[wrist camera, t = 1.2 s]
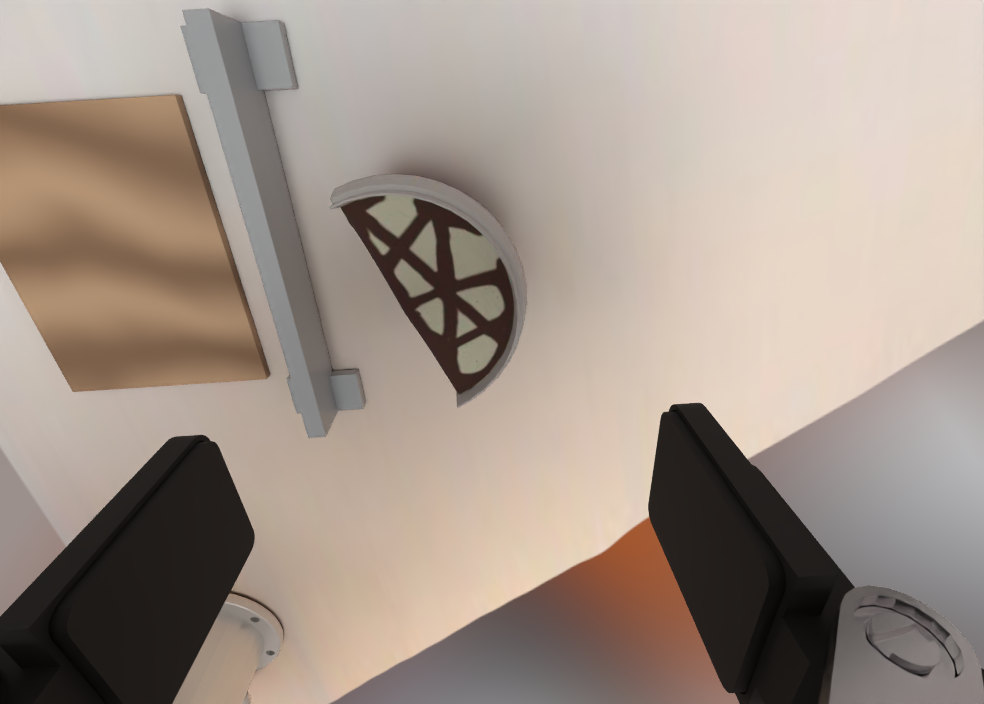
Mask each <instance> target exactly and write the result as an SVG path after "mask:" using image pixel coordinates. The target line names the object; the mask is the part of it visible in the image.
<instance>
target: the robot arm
mask: <svg viewBox="0 0 984 704" xmlns="http://www.w3.org/2000/svg"><path fill="white" fill-rule="evenodd" d="M648 510H649V517H650V521H651V523H652V526H653V528H654V530H655V532H656V535H657V537H658V539H659V542H660V544H661V546H662V548H663V551H664V553H665V556H666V558H667V560H668V562H669V565H670V567H671V569H672V571H673V574H674V576H675V578H676V581H677V583H678V585H679V587H680V590H681V592H682V594H683V597H684V599H685V601H686V604H687V606H688V608H689V611H690V613H691V615H692V617H693V619H694V622H695V624H696V627H697V629H698V631H699V633H700V635H701V638H702V640H703V642H704V645H705V647H706V650H707V652H708V654H709V656H710V659H711V661H712V663H713V665H714V668H715V670H716V672H717V675H718V677H719V679H720V681H721V683H722V685H723V687H724V688H725V690H726V691H727V692H728V693H735V694H736V696H737V698H738V700H739V703H740V704H984V669H982V668H981V667H980V665H979V662H978V659H977V656H976V653H975V651H974V650H973V648H972V647H971V646H970V644H969V643H968V641H967V640H966V639H965V637H964V636H963V635H962V634H961V633H960V632H959V631H958V630H957V629H956V628H955V627H954V626H953V625H952V624H951V623H950V622H949V621H948V620H947V619H946V618H944V617H943V616H942V615H940V614H939V613H937V612H936V611H935V610H933V609H932V608H930V607H929V606H927V605H926V604H924V603H922V602H920V601H918V600H916V599H914V598H912V597H911V596H908V595H907V594H904V593H901V592H898V591H895V590H892V589H889V588H885V587H877V586H862V587H856V588H855V587H854V586H853V585H852V583H851V582H850V581H849V580H848V578H847V577H846V576H845V575H844V573H843V572H842V571H841V570H840V569H839V567H838V566H837V565H836V564H835V562H834V561H833V560H832V559H831V557H830V556H829V555H828V554H827V552H826V551H825V550H824V549H823V547H822V546H821V545H820V544H819V543H818V541H817V540H816V539H815V538H814V536H813V535H812V534H811V533H810V531H809V530H808V529H807V528H806V527H805V525H804V524H803V523H802V522H801V520H800V519H799V518H798V517H797V515H796V514H795V513H794V512H793V510H792V509H791V508H790V507H789V505H788V504H787V503H786V502H785V501H784V499H783V498H782V497H781V496H780V494H779V493H778V492H777V491H776V489H775V488H774V487H773V486H772V485H771V483H770V482H769V481H768V480H767V479H766V477H765V476H764V475H763V473H762V472H761V471H760V470H759V469H758V468H757V467H755V466H753V465H751V464H750V462H749V461H748V460H747V458H746V457H745V456H744V455H743V453H742V452H741V451H740V450H739V448H738V447H737V446H736V445H735V443H734V442H733V441H732V440H731V438H730V437H729V436H728V435H727V433H726V432H725V431H724V430H723V428H722V427H721V426H720V425H719V423H718V422H717V421H716V420H715V418H714V417H713V416H712V415H711V413H710V412H709V411H708V410H707V408H706V407H705V406H704V405H703V404H701V403H689V404H674V405H672V406H671V407H670V409H669V412H664V413H663V414H662V415H661V420H660V427H659V434H658V441H657V448H656V455H655V462H654V469H653V476H652V483H651V490H650V497H649V504H648ZM254 539H255V536H254V530H253V528H252V525H251V523H250V521H249V518H248V516H247V513H246V511H245V509H244V506H243V504H242V502H241V499H240V497H239V494H238V492H237V490H236V487H235V485H234V483H233V480H232V478H231V475H230V473H229V471H228V468H227V466H226V463H225V461H224V459H223V456H222V454H221V452H220V449H219V447H218V445H217V444H216V443H215V442H212V441H210V440H209V438H208V437H206V436H204V435H194V436H178V437H173V438H171V439H169V440H168V441H167V442H166V443H165V444H164V445H163V446H162V447H161V448H160V449H159V450H158V451H157V452H156V453H155V454H154V456H153V457H152V458H151V459H150V460H149V461H148V462H147V463H146V464H145V465H144V466H143V467H142V468H141V469H140V470H139V471H138V472H137V473H136V474H135V476H134V477H133V478H132V479H131V480H130V481H129V482H128V483H127V484H126V485H125V486H124V487H123V488H122V489H121V490H120V491H119V492H118V493H117V494H116V495H115V497H114V498H113V499H112V500H111V501H110V502H109V503H108V504H107V505H106V506H105V507H104V508H103V509H102V510H101V511H100V512H99V513H98V514H97V515H96V517H95V518H94V519H93V520H92V521H91V522H90V523H89V524H88V525H87V526H86V527H85V528H84V529H83V530H82V531H81V532H80V533H79V534H78V535H77V536H76V538H75V539H74V540H73V541H72V542H71V543H70V544H69V545H68V546H67V547H66V548H65V549H64V550H63V551H62V552H61V554H59V555H58V556H57V558H56V559H55V560H54V561H53V562H52V563H51V564H50V565H49V566H48V567H47V568H46V569H45V570H44V571H43V572H42V573H41V574H40V575H39V577H37V579H36V580H35V581H34V582H33V583H32V584H31V585H30V586H29V587H28V588H27V589H26V590H25V591H24V592H23V593H22V594H21V595H20V596H19V597H18V599H17V600H16V601H15V602H14V603H13V604H12V605H11V606H10V607H9V608H8V609H7V610H6V611H5V612H4V613H3V614H2V615H1V616H0V704H250V702H251V696H250V694H249V692H248V688H249V686H250V683H251V681H252V678H253V676H254V673H255V671H257V670H259V669H261V668H264V667H266V666H267V665H269V664H270V663H271V662H273V661H274V659H275V658H276V657H277V656H278V653H279V651H280V648H281V646H282V643H283V638H284V636H283V630H282V627H281V625H280V623H279V621H278V620H277V619H276V618H275V616H274V615H273V614H272V613H271V612H269V611H268V610H267V609H266V608H264V607H263V606H261V605H260V604H258V603H256V602H254V601H252V600H250V599H247V598H245V597H242V596H239V595H235V594H231V593H230V591H231V589H232V587H233V585H234V583H235V581H236V580H237V578H238V576H239V574H240V572H241V570H242V568H243V566H244V564H245V562H246V560H247V558H248V556H249V554H250V552H251V550H252V548H253V545H254Z"/></svg>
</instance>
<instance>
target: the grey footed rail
mask: <svg viewBox="0 0 984 704" xmlns="http://www.w3.org/2000/svg"><path fill="white" fill-rule="evenodd" d="M182 12H183V15H184V19H185V22H186V25H187V26H180V27H181V30H182V33H183V37H184V40H185V43H186V46H187V50H188V53H189V56H190V60H191V63H192V66H193V70H194V73H195V76H196V80H197V83H198V86H199V90H200V93H203V94H207V96H208V100H209V103H210V107H211V110H212V113H213V117H214V120H215V123H216V127H217V130H218V134H219V137H220V140H221V144H222V147H223V150H224V154H225V157H226V161H227V164H228V167H229V171H230V174H231V178H232V181H233V184H234V188H235V191H236V194H237V198H238V201H239V205H240V208H241V211H242V215H243V218H244V222H245V225H246V228H247V232H248V235H249V238H250V242H251V245H252V249H253V252H254V255H255V259H256V262H257V265H258V269H259V272H260V276H261V279H262V282H263V286H264V289H265V293H266V296H267V299H268V303H269V306H270V309H271V313H272V316H273V320H274V323H275V326H276V330H277V333H278V336H279V340H280V343H281V347H282V350H283V353H284V357H285V360H286V364H287V367H288V370H289V374H290V375H289V376H288V378H287V382H288V385H289V389H290V392H291V395H292V399H293V402H294V405H295V409H296V412H297V413H301V414H302V418H303V421H304V424H305V428H306V431H307V435H308V438H315V437H326V435H327V433H328V431H329V429H330V427H331V425H332V423H333V420H334V418H335V416H336V414H337V412H338V411H339V410H353V409H363V408H364V406H365V398H364V394H363V389H362V384H361V380H360V375H359V370H358V369H351V370H336V371H332V367H331V363H330V358H329V354H328V350H327V346H326V342H325V338H324V334H323V330H322V326H321V322H320V318H319V314H318V310H317V305H316V301H315V297H314V293H313V289H312V285H311V281H310V277H309V273H308V269H307V265H306V261H305V257H304V252H303V248H302V244H301V240H300V236H299V232H298V228H297V224H296V220H295V216H294V212H293V208H292V204H291V199H290V195H289V191H288V187H287V183H286V179H285V175H284V171H283V167H282V163H281V159H280V155H279V151H278V147H277V142H276V138H275V134H274V130H273V126H272V122H271V118H270V114H269V110H268V106H267V102H266V98H265V94H264V91H267V90H284V89H298V87H297V83H296V78H295V73H294V69H293V64H292V59H291V55H290V50H289V45H288V41H287V36H286V31H285V27H284V23H282V22H280V21H278V20H276V21H259V22H242V23H241V22H239V21H236V20H234V19H232V18H229V17H227V16H225V15H222V14H220V13H218V12H215V11H213V10H211V9H193V10H182Z"/></svg>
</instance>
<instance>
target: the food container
mask: <svg viewBox="0 0 984 704" xmlns="http://www.w3.org/2000/svg"><path fill="white" fill-rule="evenodd" d="M330 200H331V202H332V203H333V204H332V205H331V206H330V207H329V208H330V209H333V208H339V207H341V209H342V211H343V212H344V214H345V215H346V217H347V219H348V221H349V223H350V225H351V226H352V227H353V228H354V229H355V231H356V232H357V234H358V235H359V237H360V238H361V240H362V241H363V243H364V245H365V246H366V248H367V249H368V251H369V253H370V254H371V256H372V258H373V259H374V261H375V262H376V264H377V266H378V267H379V269H380V271H381V272H382V274H383V276H384V277H385V279H386V281H387V283H388V284H389V286H390V288H391V290H392V291H393V293H394V295H395V297H396V298H397V300H398V302H399V304H400V305H401V307H402V309H403V310H404V312H405V314H406V315H407V317H408V318H409V320H410V321H411V322H412V324H413V325H414V327H415V328H416V330H417V331H418V332H419V334H420V335H421V337H422V338H423V340H424V341H425V343H426V344H427V346H428V347H429V349H430V350H431V352H432V353H433V355H434V356H435V358H436V359H437V361H438V363H439V364H440V366H441V367H442V369H443V371H444V372H445V374H446V375H447V377H448V378H449V380H450V382H451V383H452V385H453V386H454V388H455V389H456V391H457V407H460V406H462V405H464V404H466V403H468V402H469V401H471V400H473V399H474V398H475V397H477V396H478V395H479V394H481V393H482V392H483V391H485V390H486V389H487V388H488V387H489V386H490V385H491V384H492V383H493V382H494V381H495V380H496V378H497V377H498V376H499V375H500V374H501V373H502V371H503V370H504V368H505V367H506V366H507V364H508V363H509V361H510V359H511V357H512V355H513V353H514V351H515V349H516V347H517V344H518V341H519V338H520V335H521V331H522V328H523V324H524V320H525V313H526V305H527V292H526V281H525V276H524V271H523V266H522V264H521V261H520V259H519V256H518V253H517V251H516V248H515V246H514V245H513V243H512V241H511V240H510V238H509V236H508V234H507V233H506V231H505V230H504V229H503V227H502V226H501V225H500V224H499V223H498V221H497V220H496V219H495V218H494V216H493V215H492V214H490V213H489V212H488V211H487V210H486V209H485V208H484V207H483V206H481V205H480V204H479V203H478V202H477V201H475V200H474V199H472V198H471V197H469V196H467V195H466V194H464V193H463V192H461V191H460V190H458V189H455V188H453V187H451V186H448V185H446V184H444V183H442V182H439V181H436V180H432V179H428V178H424V177H420V176H414V175H402V174H387V175H375V176H370V177H366V178H362V179H358V180H354V181H351V182H349V183H347V184H345V185H342V186H340V187H338V188H336V189H335V190H334V192H333V194H332V196H331V198H330Z"/></svg>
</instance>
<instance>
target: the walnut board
mask: <svg viewBox="0 0 984 704" xmlns="http://www.w3.org/2000/svg"><path fill="white" fill-rule="evenodd" d="M0 262H1V264H2V266H3V267H4V269H5V271H6V273H7V274H8V276H9V278H10V280H11V282H12V283H13V285H14V287H15V289H16V291H17V292H18V294H19V296H20V298H21V300H22V301H23V303H24V305H25V307H26V309H27V310H28V312H29V314H30V316H31V318H32V319H33V321H34V323H35V325H36V327H37V328H38V330H39V332H40V334H41V336H42V337H43V339H44V341H45V343H46V345H47V346H48V348H49V350H50V352H51V353H52V355H53V357H54V359H55V361H56V362H57V364H58V366H59V368H60V370H61V371H62V373H63V375H64V377H65V379H66V380H67V382H68V384H69V386H70V388H71V389H72V391H73V392H79V391H94V390H109V389H124V388H139V387H154V386H169V385H184V384H199V383H214V382H229V381H244V380H259V379H267V378H268V377H269V376H270V373H269V370H268V366H267V363H266V360H265V357H264V354H263V351H262V348H261V345H260V341H259V338H258V335H257V332H256V329H255V326H254V323H253V319H252V316H251V313H250V310H249V307H248V304H247V301H246V297H245V294H244V291H243V288H242V285H241V282H240V279H239V275H238V272H237V269H236V266H235V263H234V260H233V257H232V253H231V250H230V247H229V244H228V241H227V238H226V235H225V231H224V228H223V225H222V222H221V219H220V216H219V213H218V209H217V206H216V203H215V200H214V197H213V194H212V191H211V188H210V184H209V181H208V178H207V175H206V172H205V169H204V166H203V162H202V159H201V156H200V153H199V150H198V147H197V144H196V140H195V137H194V134H193V131H192V128H191V125H190V122H189V118H188V115H187V112H186V109H185V106H184V103H183V100H182V96H180V95H167V96H151V97H134V98H117V99H101V100H84V101H67V102H51V103H34V104H17V105H0Z"/></svg>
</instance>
